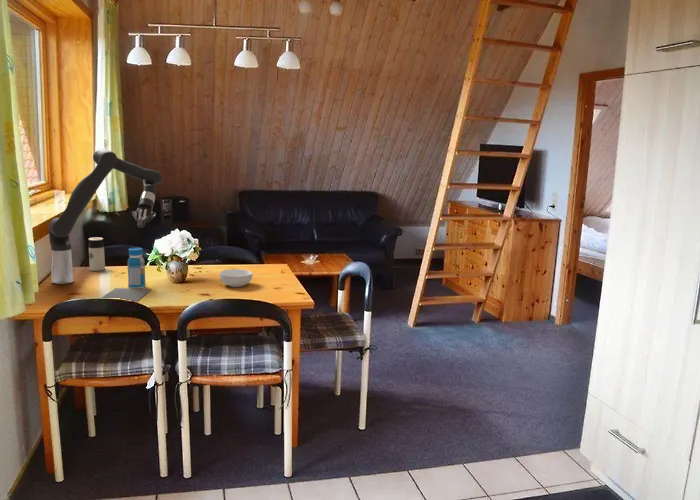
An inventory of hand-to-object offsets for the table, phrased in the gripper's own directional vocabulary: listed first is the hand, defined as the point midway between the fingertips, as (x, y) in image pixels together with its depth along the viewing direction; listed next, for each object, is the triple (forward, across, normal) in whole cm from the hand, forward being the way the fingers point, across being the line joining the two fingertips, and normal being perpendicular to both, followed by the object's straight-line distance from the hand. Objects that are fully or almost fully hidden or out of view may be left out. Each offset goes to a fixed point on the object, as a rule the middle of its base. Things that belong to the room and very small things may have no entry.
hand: (140, 226), depth 312 cm
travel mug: (+9, -30, +31) cm, 44 cm away
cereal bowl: (+28, +53, +12) cm, 61 cm away
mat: (+45, +4, -5) cm, 45 cm away
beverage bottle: (+34, +4, +6) cm, 35 cm away
